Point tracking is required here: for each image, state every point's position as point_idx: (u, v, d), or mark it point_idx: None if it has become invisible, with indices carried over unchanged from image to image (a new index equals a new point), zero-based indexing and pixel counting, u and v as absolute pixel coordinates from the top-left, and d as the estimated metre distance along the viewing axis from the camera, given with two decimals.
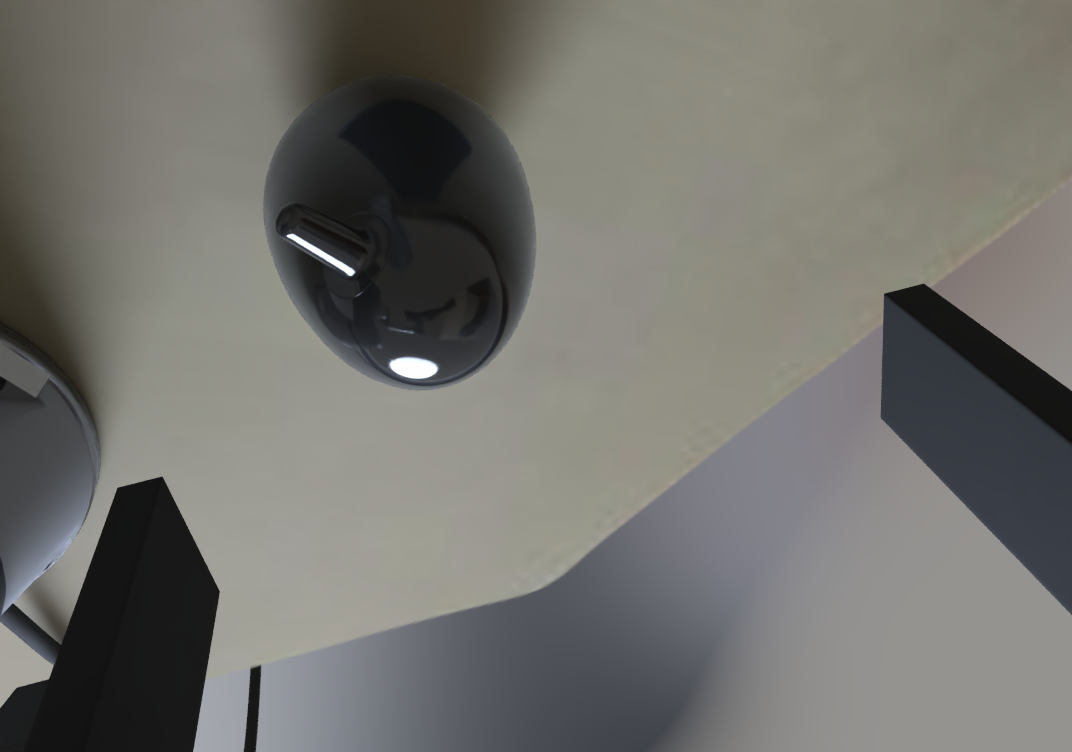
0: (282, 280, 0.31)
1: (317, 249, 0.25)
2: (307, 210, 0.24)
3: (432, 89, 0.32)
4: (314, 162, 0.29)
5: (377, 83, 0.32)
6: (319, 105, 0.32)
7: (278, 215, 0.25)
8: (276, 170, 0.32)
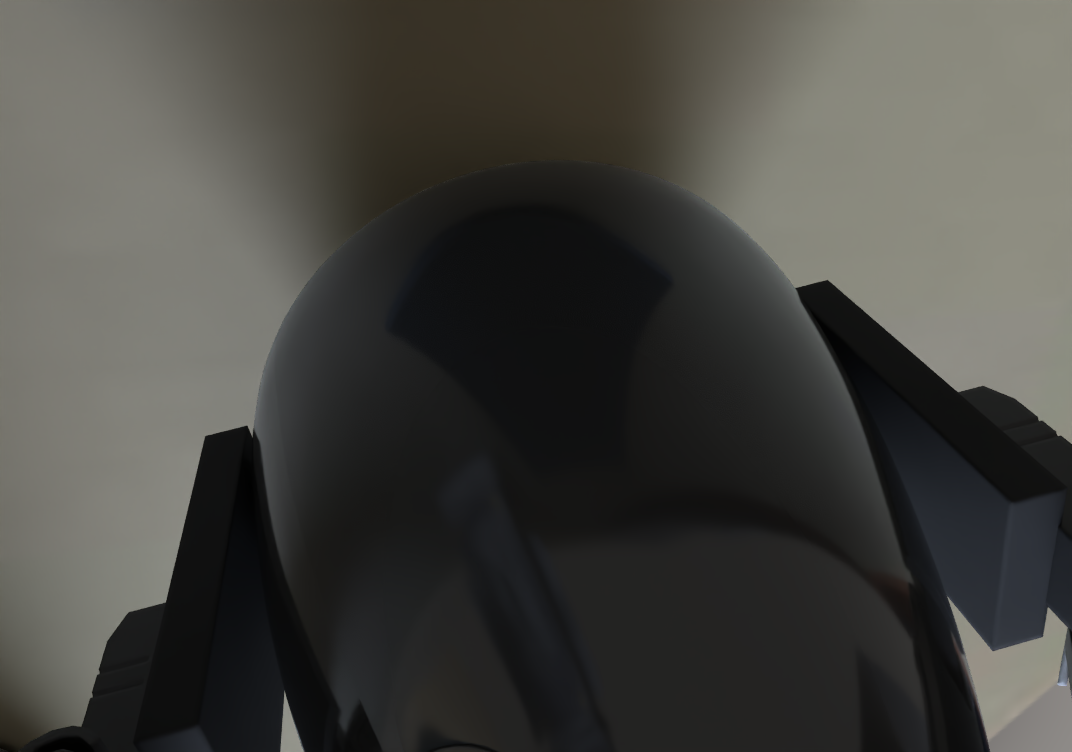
0: None
1: None
2: None
3: (578, 192, 0.13)
4: (320, 498, 0.11)
5: (445, 208, 0.13)
6: (323, 290, 0.13)
7: None
8: (257, 466, 0.13)
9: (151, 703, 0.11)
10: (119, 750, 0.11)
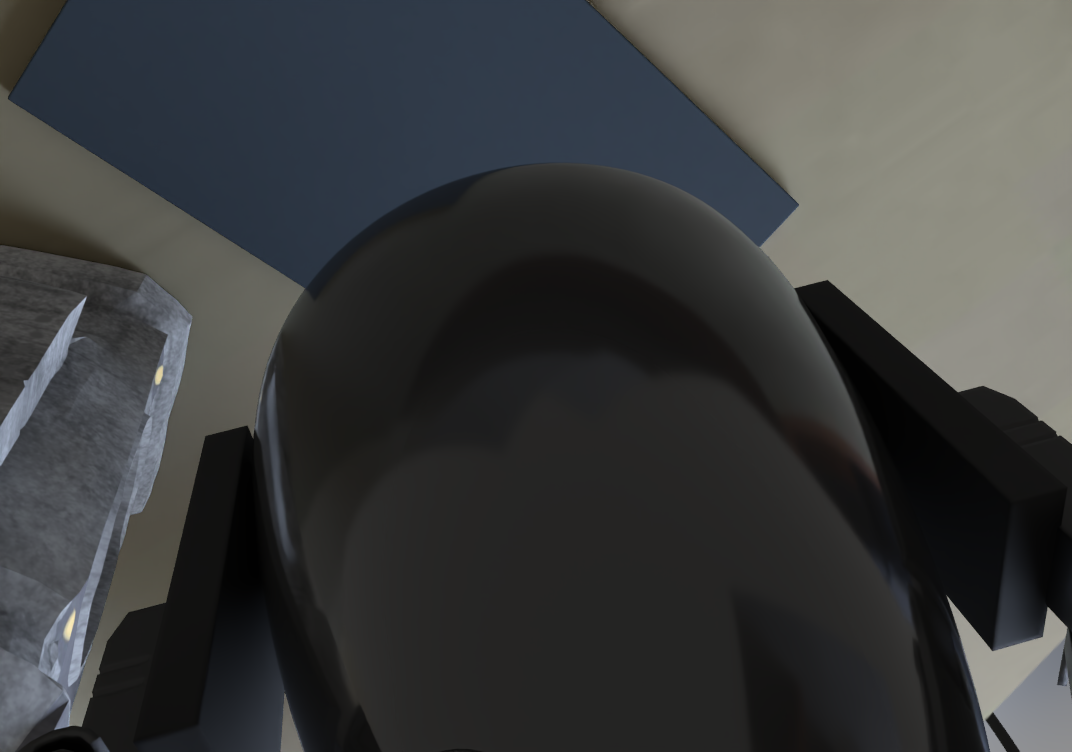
0: None
1: None
2: None
3: (577, 195, 0.13)
4: (320, 502, 0.11)
5: (444, 211, 0.13)
6: (323, 294, 0.13)
7: None
8: (257, 470, 0.13)
9: (151, 703, 0.11)
10: (119, 750, 0.11)
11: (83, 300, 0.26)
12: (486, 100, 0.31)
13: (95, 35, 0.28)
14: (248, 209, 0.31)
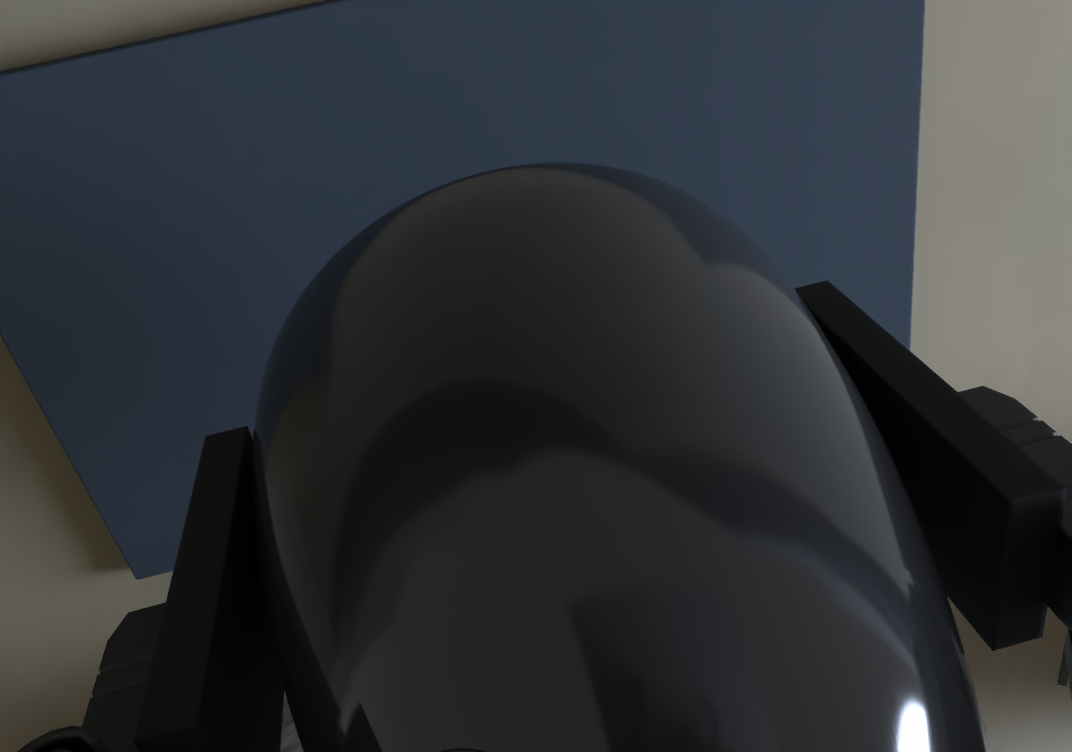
0: None
1: None
2: None
3: (579, 195, 0.13)
4: (321, 501, 0.11)
5: (445, 210, 0.13)
6: (324, 292, 0.13)
7: None
8: (257, 468, 0.13)
9: (151, 703, 0.11)
10: (119, 750, 0.11)
11: None
12: None
13: (127, 482, 0.25)
14: None
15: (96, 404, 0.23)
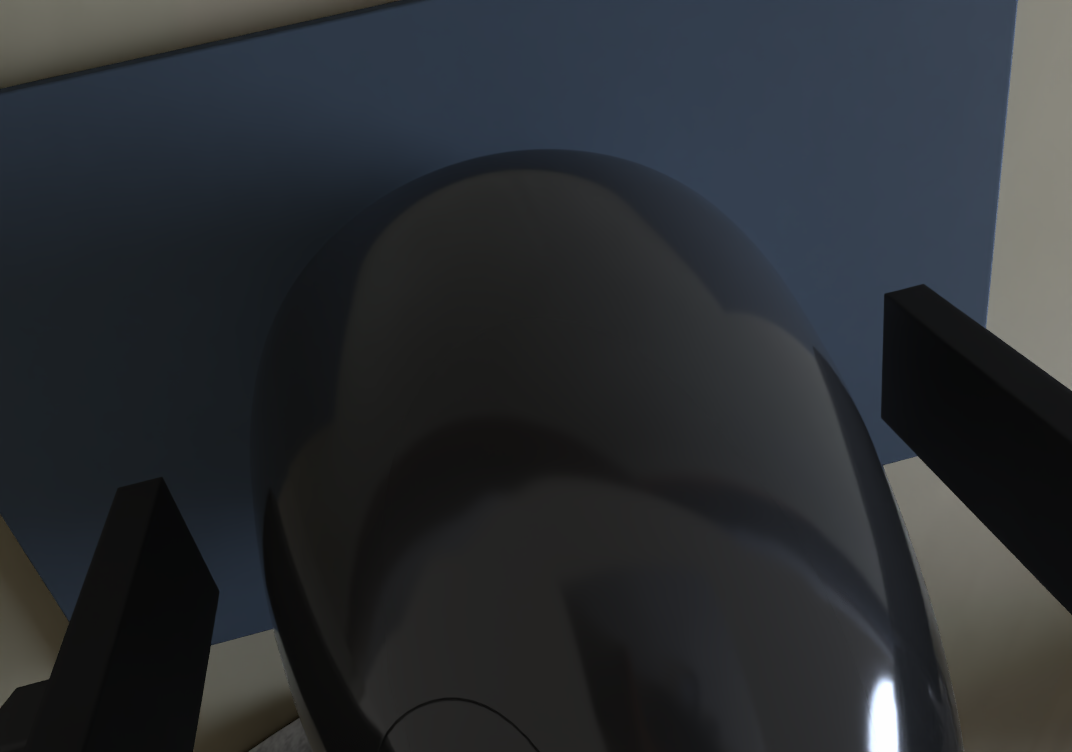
0: None
1: None
2: None
3: (566, 179, 0.13)
4: (316, 471, 0.11)
5: (437, 194, 0.14)
6: (319, 274, 0.14)
7: None
8: (254, 445, 0.14)
9: None
10: None
11: None
12: None
13: None
14: None
15: (50, 485, 0.20)
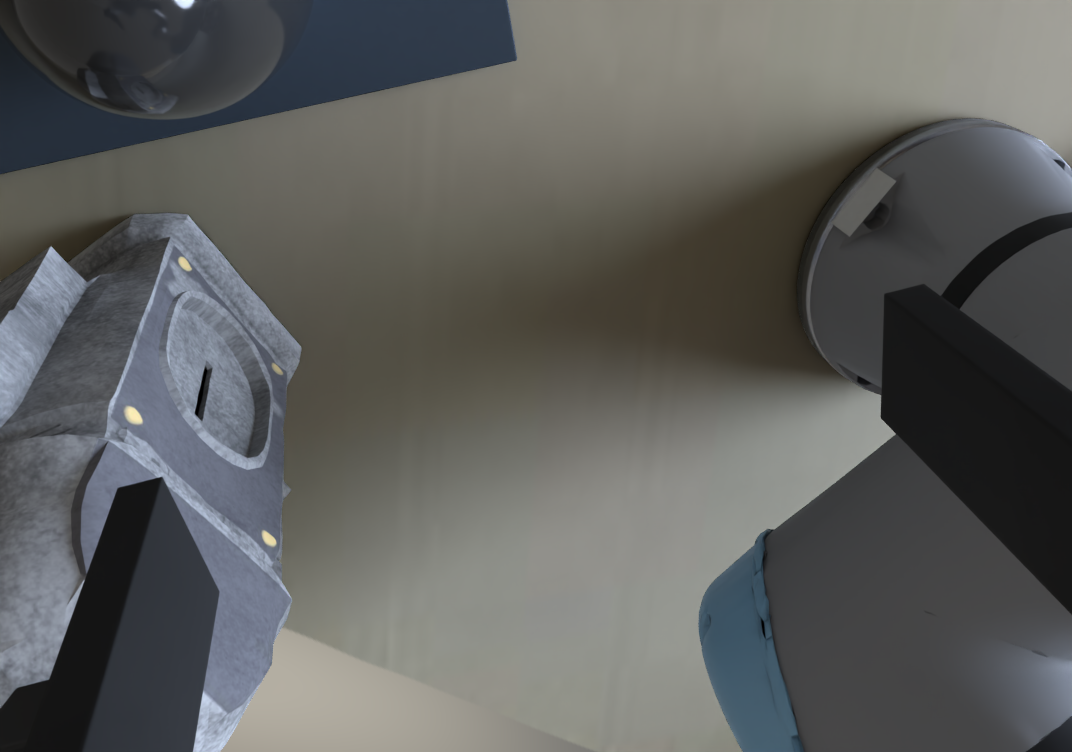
0: None
1: None
2: None
3: None
4: None
5: None
6: None
7: None
8: None
9: None
10: None
11: (50, 250, 0.33)
12: None
13: None
14: None
15: None
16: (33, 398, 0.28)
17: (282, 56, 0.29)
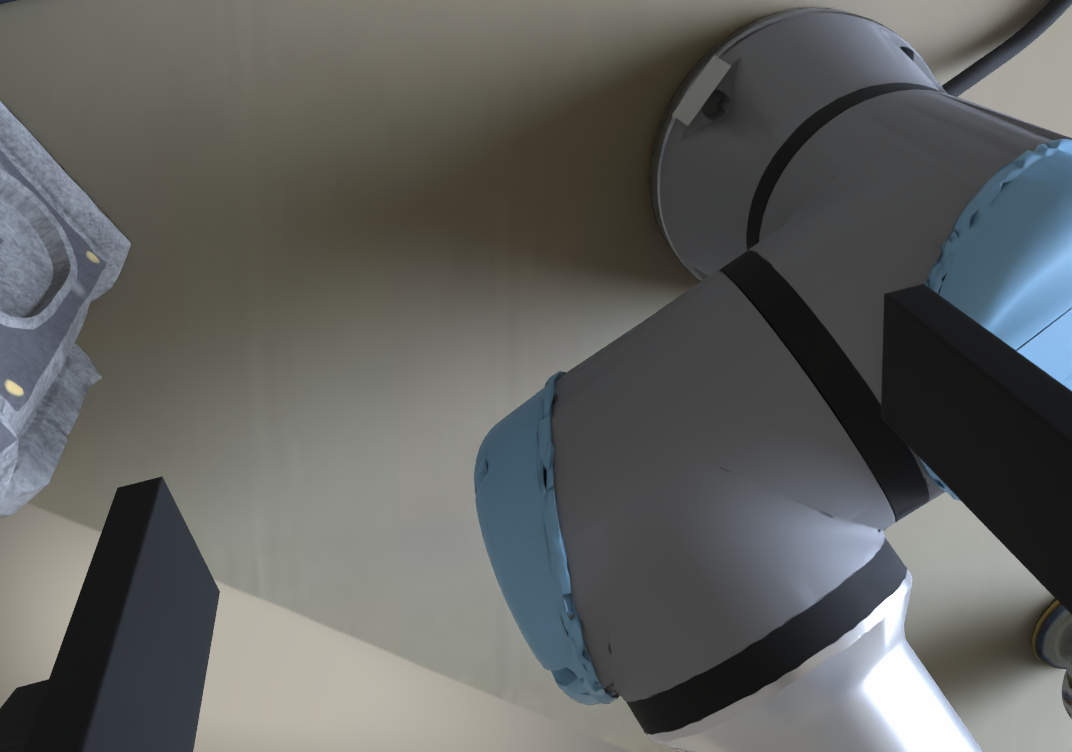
0: None
1: None
2: None
3: None
4: None
5: None
6: None
7: None
8: None
9: None
10: None
11: None
12: None
13: None
14: None
15: None
16: None
17: None
